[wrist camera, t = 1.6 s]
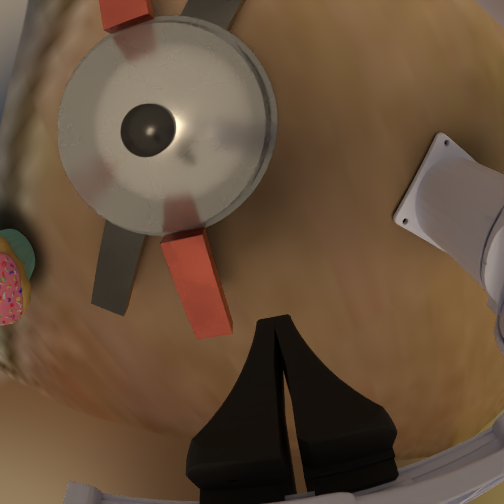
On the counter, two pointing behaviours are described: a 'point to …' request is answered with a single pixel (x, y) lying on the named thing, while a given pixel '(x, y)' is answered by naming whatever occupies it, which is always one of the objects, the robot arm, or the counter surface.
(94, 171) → the lid
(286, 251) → the counter surface
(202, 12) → the pot
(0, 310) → the cupcake
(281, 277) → the counter surface
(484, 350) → the counter surface
